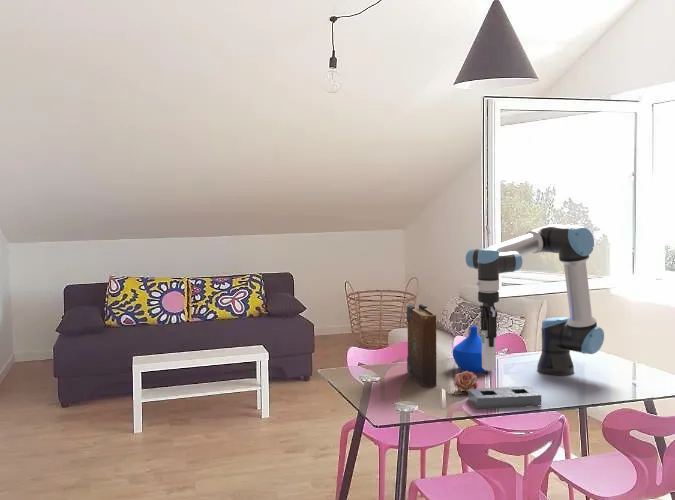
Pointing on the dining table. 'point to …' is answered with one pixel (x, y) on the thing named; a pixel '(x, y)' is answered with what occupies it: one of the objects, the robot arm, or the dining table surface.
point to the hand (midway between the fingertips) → (488, 353)
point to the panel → (504, 397)
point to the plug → (487, 361)
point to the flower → (466, 381)
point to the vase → (469, 353)
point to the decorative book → (421, 345)
